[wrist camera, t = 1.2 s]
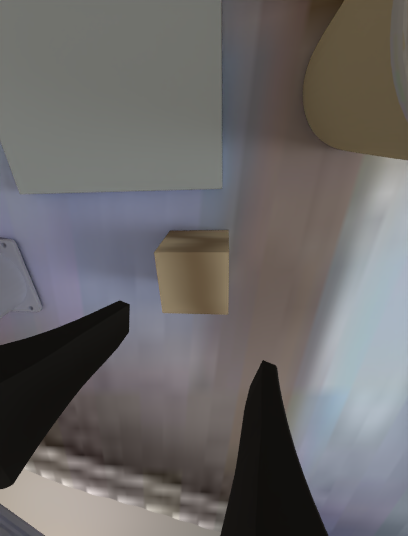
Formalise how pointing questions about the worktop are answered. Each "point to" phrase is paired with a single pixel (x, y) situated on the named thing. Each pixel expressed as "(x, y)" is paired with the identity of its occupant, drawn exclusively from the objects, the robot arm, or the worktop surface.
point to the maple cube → (194, 271)
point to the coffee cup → (361, 80)
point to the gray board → (111, 94)
